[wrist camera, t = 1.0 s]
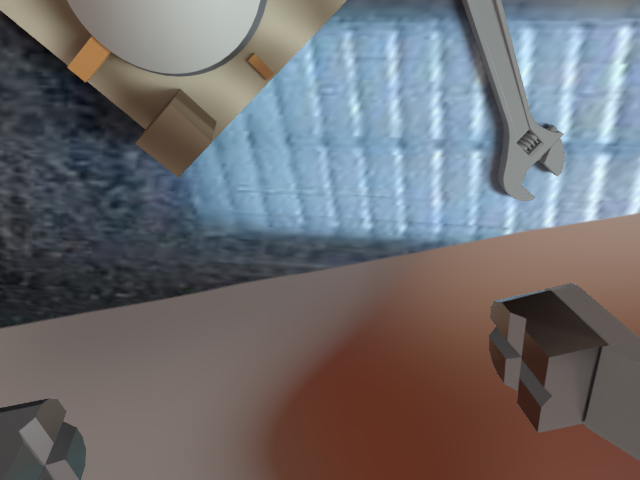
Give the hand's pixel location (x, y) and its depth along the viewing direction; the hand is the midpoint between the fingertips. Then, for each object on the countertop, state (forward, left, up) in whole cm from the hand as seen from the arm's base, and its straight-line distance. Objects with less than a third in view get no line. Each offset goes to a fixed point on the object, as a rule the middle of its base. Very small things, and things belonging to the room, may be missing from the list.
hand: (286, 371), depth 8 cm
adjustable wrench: (-15, +15, -33) cm, 40 cm away
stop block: (+7, -2, -30) cm, 31 cm away
